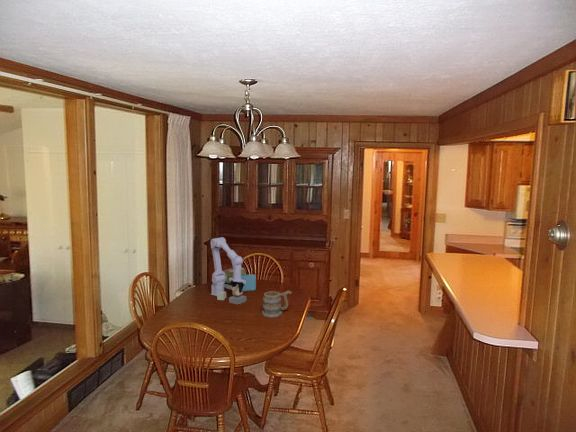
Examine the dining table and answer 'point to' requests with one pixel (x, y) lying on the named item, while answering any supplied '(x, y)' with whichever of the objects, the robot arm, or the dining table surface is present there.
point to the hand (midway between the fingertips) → (237, 291)
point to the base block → (237, 299)
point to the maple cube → (236, 291)
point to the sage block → (221, 295)
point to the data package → (249, 282)
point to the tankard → (274, 303)
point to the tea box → (230, 275)
